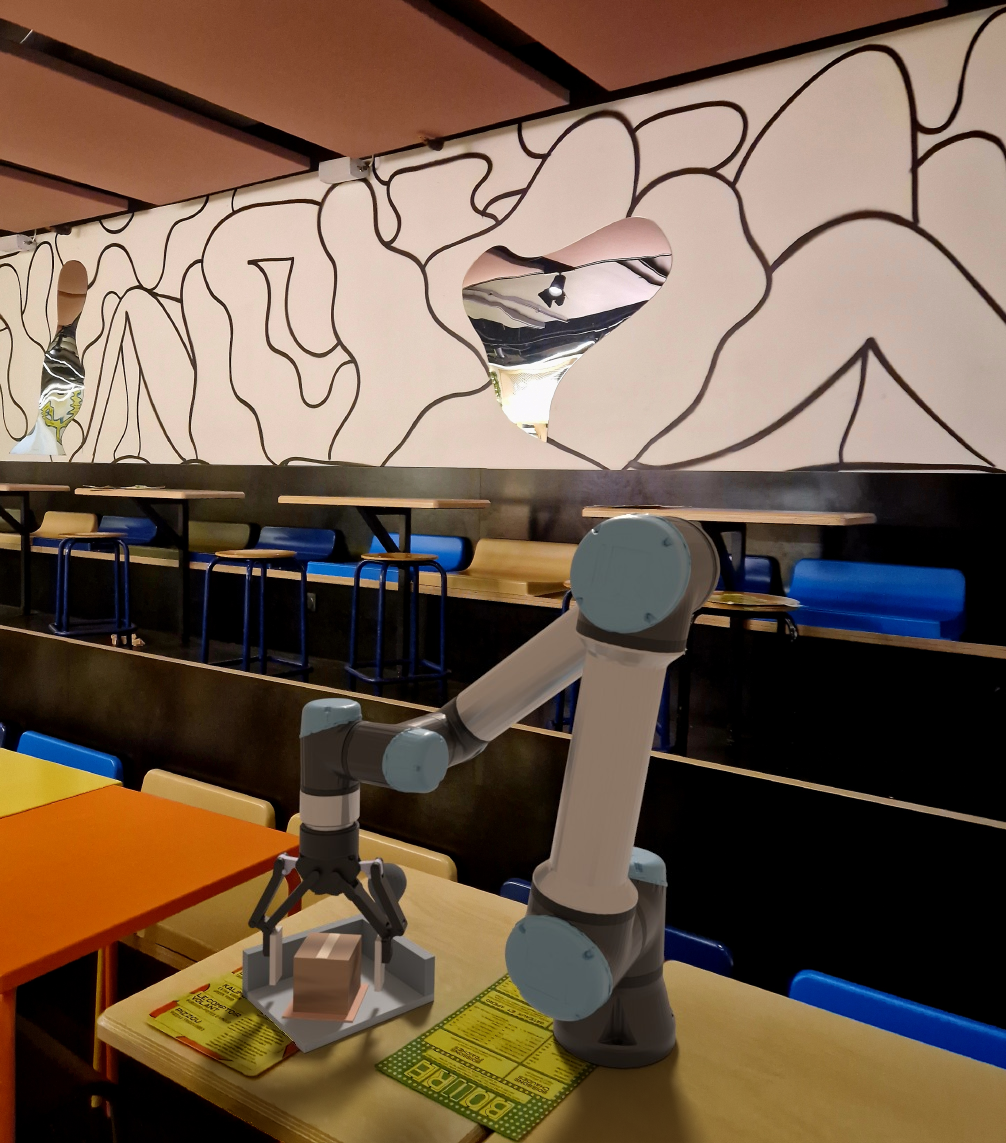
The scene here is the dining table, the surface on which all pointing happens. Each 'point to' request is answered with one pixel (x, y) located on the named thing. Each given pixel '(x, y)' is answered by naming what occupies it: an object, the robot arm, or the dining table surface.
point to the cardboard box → (327, 973)
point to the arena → (400, 992)
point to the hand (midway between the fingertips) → (327, 983)
